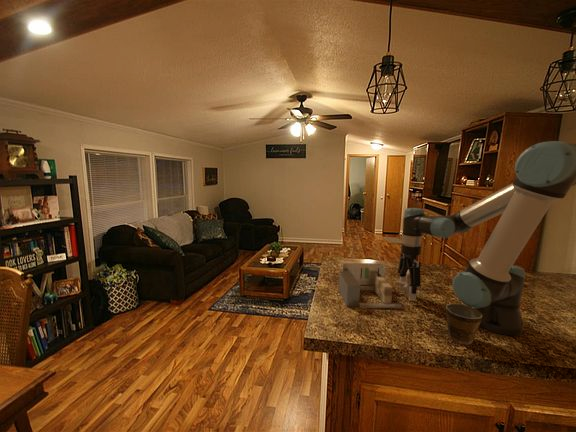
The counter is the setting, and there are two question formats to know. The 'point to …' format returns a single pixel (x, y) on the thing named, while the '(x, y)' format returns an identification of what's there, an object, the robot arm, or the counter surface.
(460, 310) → the ceramic cup
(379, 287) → the gauge pad
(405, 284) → the pipe connector
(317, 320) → the counter surface
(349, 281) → the gauge frame
